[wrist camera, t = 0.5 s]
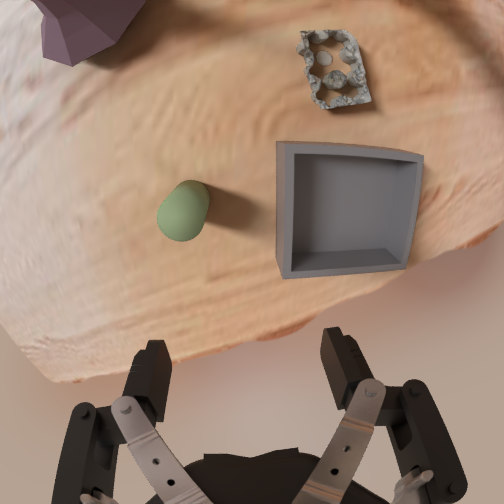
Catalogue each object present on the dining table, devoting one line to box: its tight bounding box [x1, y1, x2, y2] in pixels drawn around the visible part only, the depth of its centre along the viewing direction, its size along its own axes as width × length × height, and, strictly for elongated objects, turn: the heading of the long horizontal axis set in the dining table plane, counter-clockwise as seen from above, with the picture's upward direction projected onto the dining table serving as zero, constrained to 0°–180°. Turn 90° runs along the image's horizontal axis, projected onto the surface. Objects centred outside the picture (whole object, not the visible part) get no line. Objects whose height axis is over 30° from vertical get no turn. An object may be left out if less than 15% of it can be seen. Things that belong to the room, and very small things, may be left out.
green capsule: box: [157, 180, 210, 241], centre depth 31 cm, size 5×5×8 cm
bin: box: [276, 141, 424, 279], centre depth 33 cm, size 16×18×6 cm
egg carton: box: [296, 30, 371, 109], centre depth 26 cm, size 11×8×4 cm
